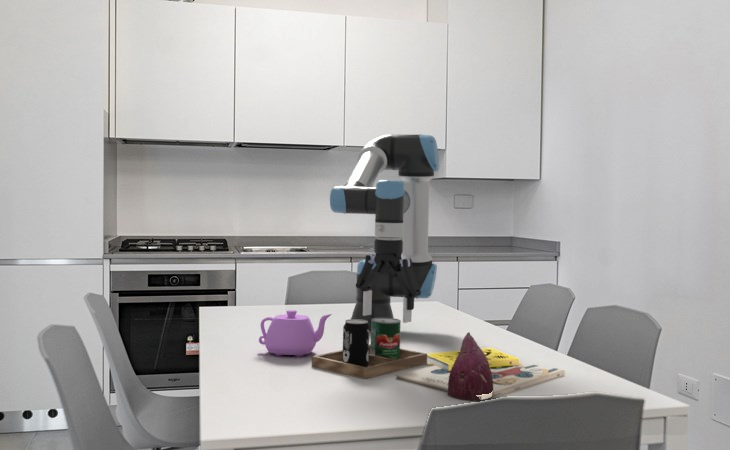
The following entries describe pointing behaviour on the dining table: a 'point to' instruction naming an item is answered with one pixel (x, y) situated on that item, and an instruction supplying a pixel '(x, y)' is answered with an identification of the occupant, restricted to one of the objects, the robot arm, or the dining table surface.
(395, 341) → the canned tomato
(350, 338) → the beverage can
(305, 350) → the teapot
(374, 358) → the tray
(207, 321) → the dining table surface
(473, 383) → the vegetable
